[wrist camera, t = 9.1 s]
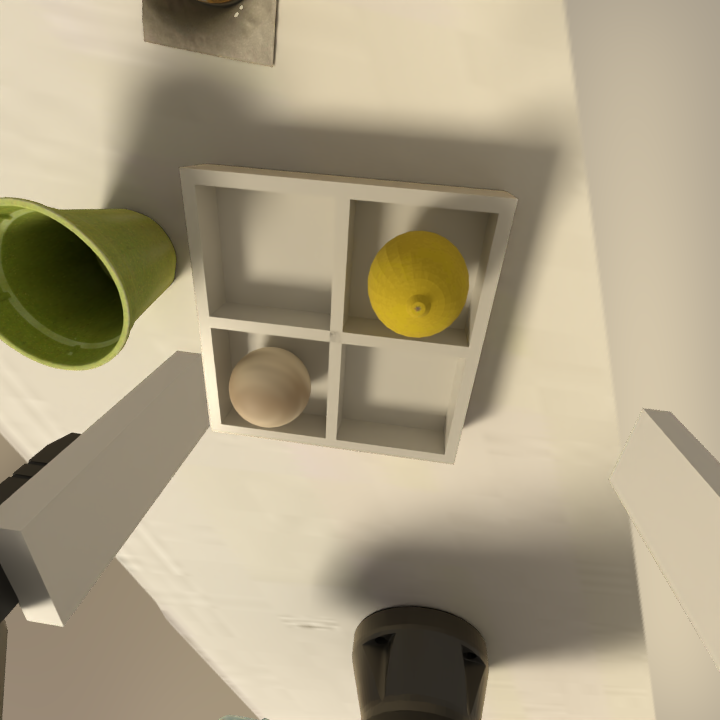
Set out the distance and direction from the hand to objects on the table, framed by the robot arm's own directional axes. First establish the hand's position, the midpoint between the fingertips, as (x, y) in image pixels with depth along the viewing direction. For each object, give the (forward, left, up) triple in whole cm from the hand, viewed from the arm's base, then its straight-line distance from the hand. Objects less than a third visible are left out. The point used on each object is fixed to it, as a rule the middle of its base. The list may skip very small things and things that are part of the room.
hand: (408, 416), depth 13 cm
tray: (-4, +4, -17) cm, 18 cm away
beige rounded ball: (-9, +9, -16) cm, 20 cm away
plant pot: (-1, +19, -17) cm, 26 cm away
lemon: (0, 0, -16) cm, 16 cm away
